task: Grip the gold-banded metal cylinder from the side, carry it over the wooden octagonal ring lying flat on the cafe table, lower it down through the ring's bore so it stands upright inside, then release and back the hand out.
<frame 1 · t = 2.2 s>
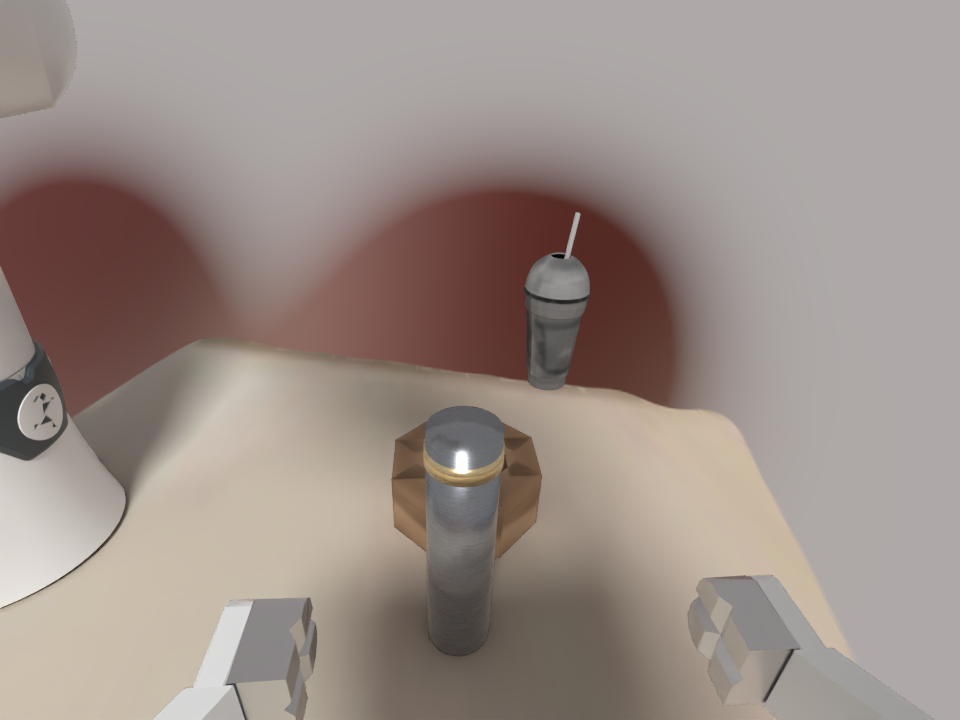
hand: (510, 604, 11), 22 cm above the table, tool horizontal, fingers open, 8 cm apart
beverage cup: (545, 381, 62), on the table
wooden octagonal ring: (464, 503, 43), on the table
gold-banded metal cylinder: (458, 625, 33), on the table
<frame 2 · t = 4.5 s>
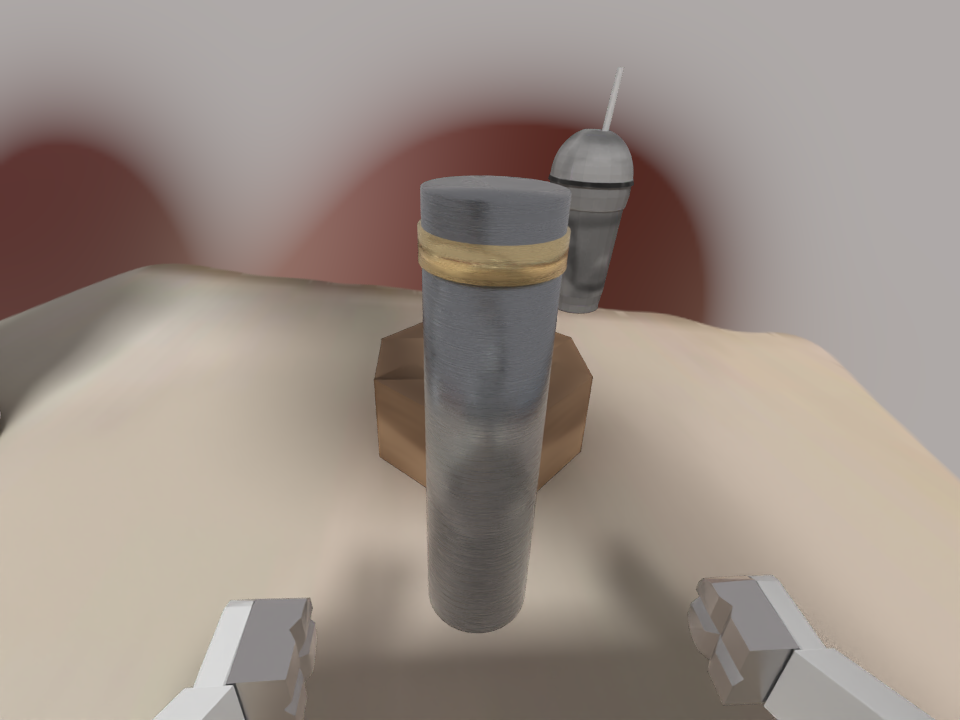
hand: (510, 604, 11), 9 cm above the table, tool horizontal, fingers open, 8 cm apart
beverage cup: (574, 305, 50), on the table
wooden octagonal ring: (478, 429, 31), on the table
gold-banded metal cylinder: (476, 587, 21), on the table
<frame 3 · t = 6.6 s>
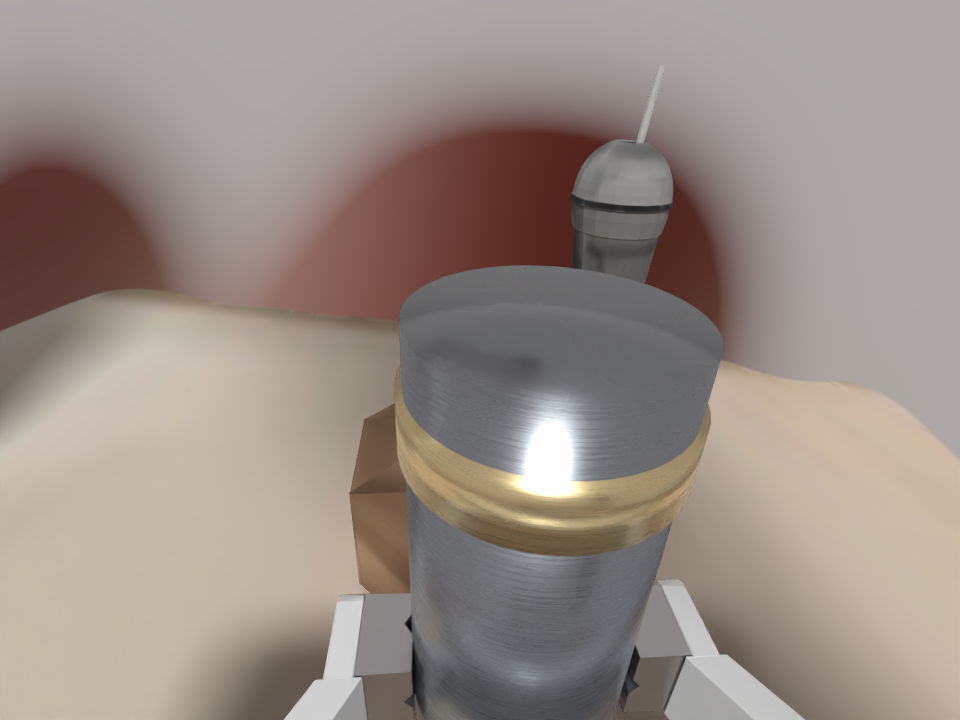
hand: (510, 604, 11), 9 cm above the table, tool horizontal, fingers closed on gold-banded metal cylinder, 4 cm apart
beverage cup: (596, 344, 42), on the table
wooden octagonal ring: (489, 534, 24), on the table
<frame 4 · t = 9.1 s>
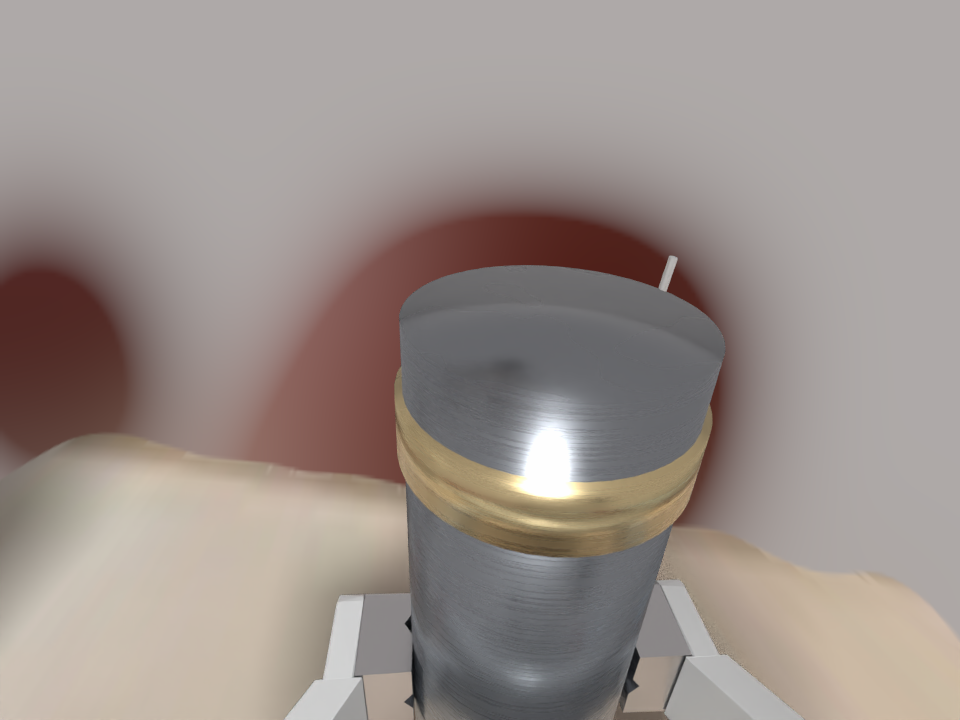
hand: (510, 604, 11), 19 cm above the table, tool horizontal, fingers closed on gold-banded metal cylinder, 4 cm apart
beverage cup: (601, 512, 39), on the table
when the fingers open (10 cm above the table, at t = 11.8 s): gold-banded metal cylinder drops 1 cm, resting in wooden octagonal ring.
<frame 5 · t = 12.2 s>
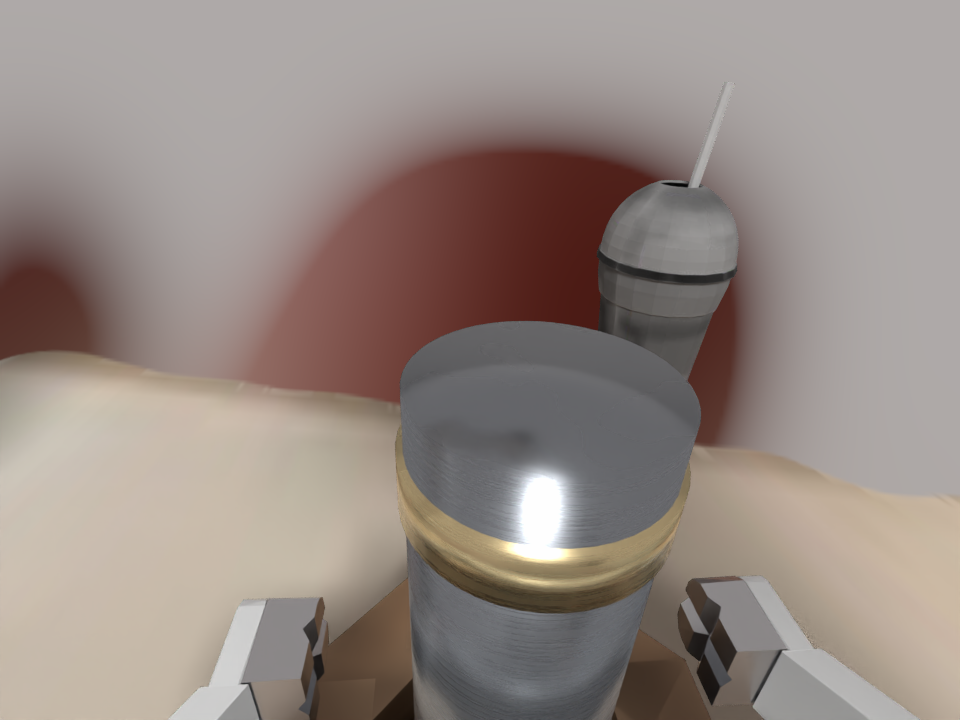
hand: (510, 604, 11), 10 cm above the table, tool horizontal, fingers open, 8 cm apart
beverage cup: (626, 433, 33), on the table
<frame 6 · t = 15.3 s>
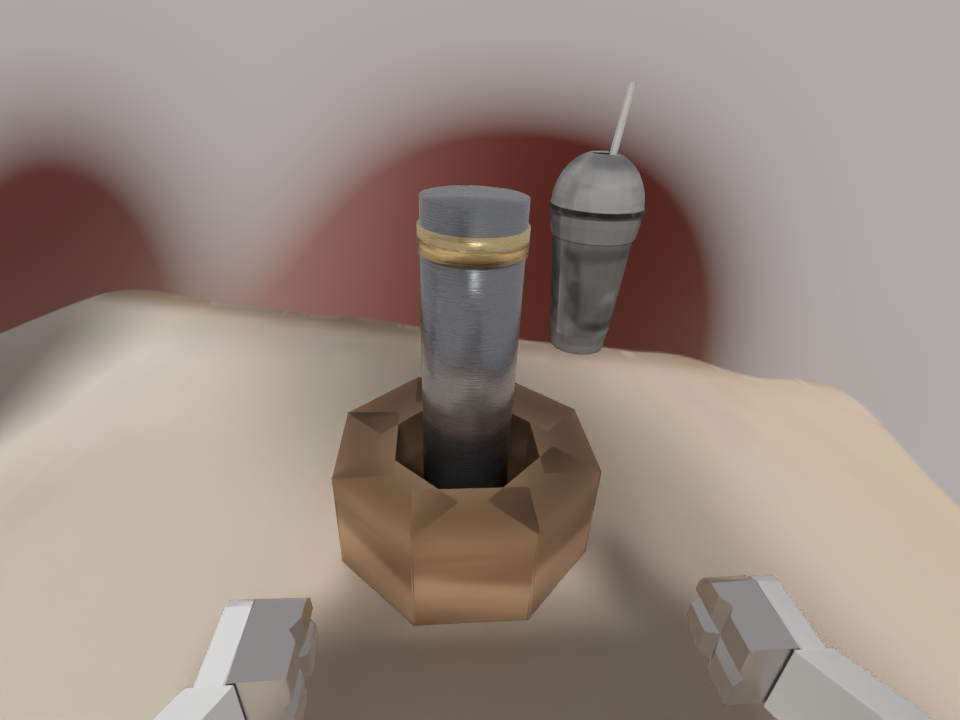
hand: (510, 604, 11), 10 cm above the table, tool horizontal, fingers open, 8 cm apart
beverage cup: (576, 344, 45), on the table
wooden octagonal ring: (463, 518, 26), on the table
gold-banded metal cylinder: (463, 518, 26), resting in wooden octagonal ring
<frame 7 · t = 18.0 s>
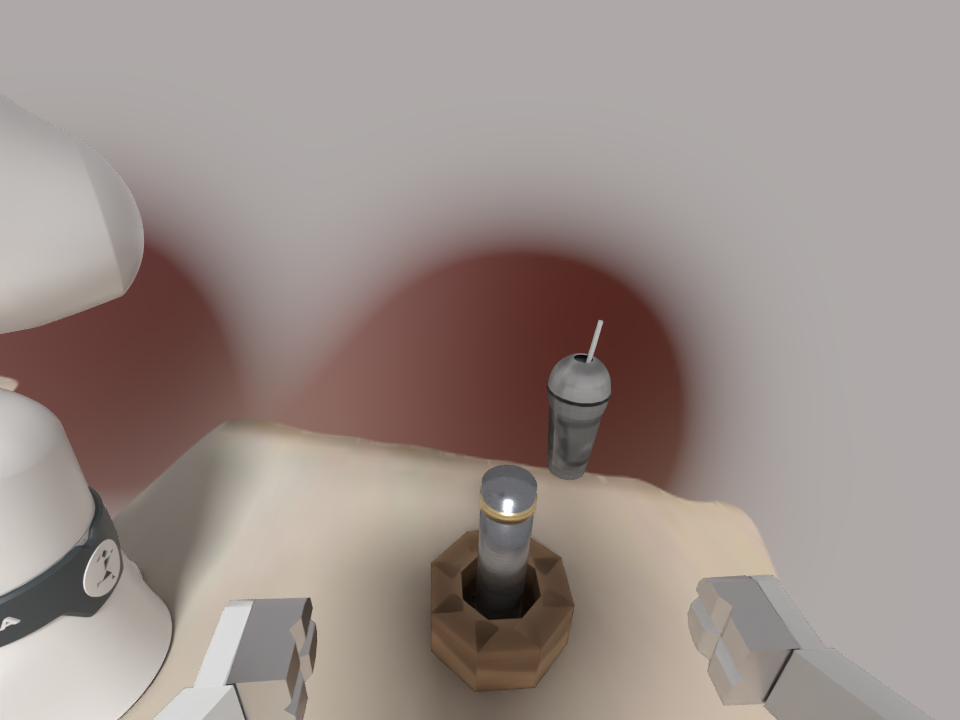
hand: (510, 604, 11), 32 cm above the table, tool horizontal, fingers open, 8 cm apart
beverage cup: (566, 468, 63), on the table
wooden octagonal ring: (496, 621, 45), on the table
gold-banded metal cylinder: (496, 621, 45), resting in wooden octagonal ring
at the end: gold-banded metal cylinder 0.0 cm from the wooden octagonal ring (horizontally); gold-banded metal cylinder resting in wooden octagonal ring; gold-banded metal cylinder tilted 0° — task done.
